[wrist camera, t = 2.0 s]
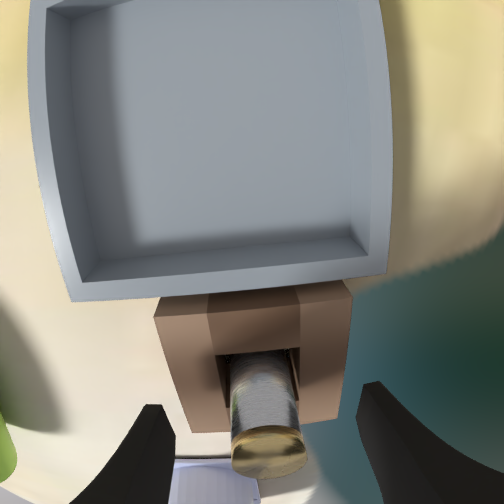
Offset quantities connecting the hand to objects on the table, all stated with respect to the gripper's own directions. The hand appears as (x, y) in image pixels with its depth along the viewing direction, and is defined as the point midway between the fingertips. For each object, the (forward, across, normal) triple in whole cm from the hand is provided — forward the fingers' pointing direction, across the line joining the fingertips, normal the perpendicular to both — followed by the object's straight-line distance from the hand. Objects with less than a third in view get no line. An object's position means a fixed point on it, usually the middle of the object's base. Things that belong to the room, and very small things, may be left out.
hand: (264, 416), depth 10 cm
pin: (+5, 0, 0) cm, 5 cm away
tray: (+5, +1, -10) cm, 11 cm away
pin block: (+5, 0, 0) cm, 5 cm away
